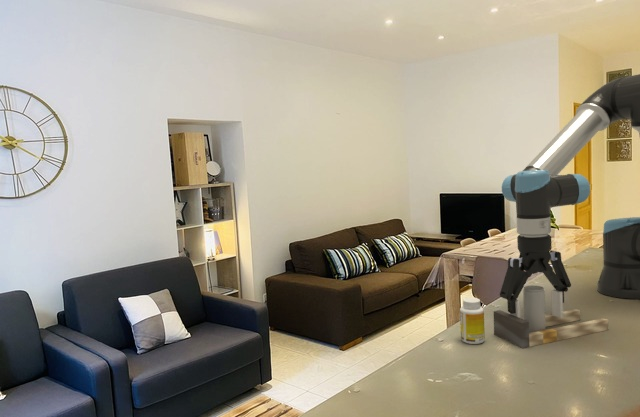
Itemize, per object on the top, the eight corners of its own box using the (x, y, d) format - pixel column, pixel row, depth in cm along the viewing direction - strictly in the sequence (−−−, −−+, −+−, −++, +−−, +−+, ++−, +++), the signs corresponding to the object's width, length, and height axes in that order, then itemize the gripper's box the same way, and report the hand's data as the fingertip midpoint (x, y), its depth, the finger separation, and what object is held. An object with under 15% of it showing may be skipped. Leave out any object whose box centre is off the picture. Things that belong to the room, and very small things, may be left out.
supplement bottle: (489, 341, 117) (488, 300, 116) (472, 346, 115) (471, 304, 114) (473, 335, 122) (472, 295, 121) (456, 339, 120) (454, 299, 119)
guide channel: (575, 318, 130) (575, 296, 129) (608, 329, 120) (608, 306, 120) (494, 334, 122) (493, 311, 121) (522, 348, 112) (521, 322, 112)
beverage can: (547, 339, 117) (547, 290, 116) (526, 339, 118) (525, 290, 117) (542, 332, 121) (541, 285, 120) (522, 331, 122) (521, 285, 121)
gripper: (502, 243, 110) (506, 335, 112) (586, 230, 117) (588, 316, 120) (481, 238, 117) (485, 325, 119) (561, 226, 125) (564, 308, 127)
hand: (537, 321), depth 119 cm, fingers open, 12 cm apart
